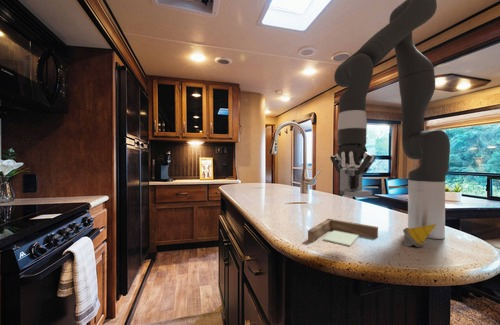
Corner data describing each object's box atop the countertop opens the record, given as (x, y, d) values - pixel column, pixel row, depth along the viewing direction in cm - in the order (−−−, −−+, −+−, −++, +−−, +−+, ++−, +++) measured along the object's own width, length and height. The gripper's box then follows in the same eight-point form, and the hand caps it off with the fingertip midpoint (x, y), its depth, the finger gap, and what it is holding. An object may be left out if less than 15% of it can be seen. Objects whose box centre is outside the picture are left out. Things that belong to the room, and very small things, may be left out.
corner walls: (328, 227, 76) (328, 218, 76) (377, 236, 67) (377, 226, 67) (307, 240, 62) (308, 230, 62) (366, 255, 53) (367, 243, 53)
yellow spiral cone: (406, 241, 64) (439, 223, 59) (412, 256, 59) (449, 237, 54) (392, 230, 64) (424, 212, 59) (397, 244, 59) (432, 225, 54)
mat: (334, 231, 72) (334, 229, 72) (359, 235, 67) (359, 234, 67) (322, 240, 63) (322, 238, 63) (350, 246, 59) (350, 244, 59)
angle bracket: (357, 193, 65) (357, 169, 65) (372, 195, 61) (372, 170, 61) (339, 194, 61) (340, 169, 61) (354, 196, 57) (354, 170, 57)
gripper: (383, 126, 58) (382, 191, 58) (340, 132, 70) (339, 186, 70) (366, 123, 54) (365, 192, 54) (323, 130, 66) (322, 187, 66)
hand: (350, 188), depth 62 cm, fingers closed on angle bracket, 1 cm apart
